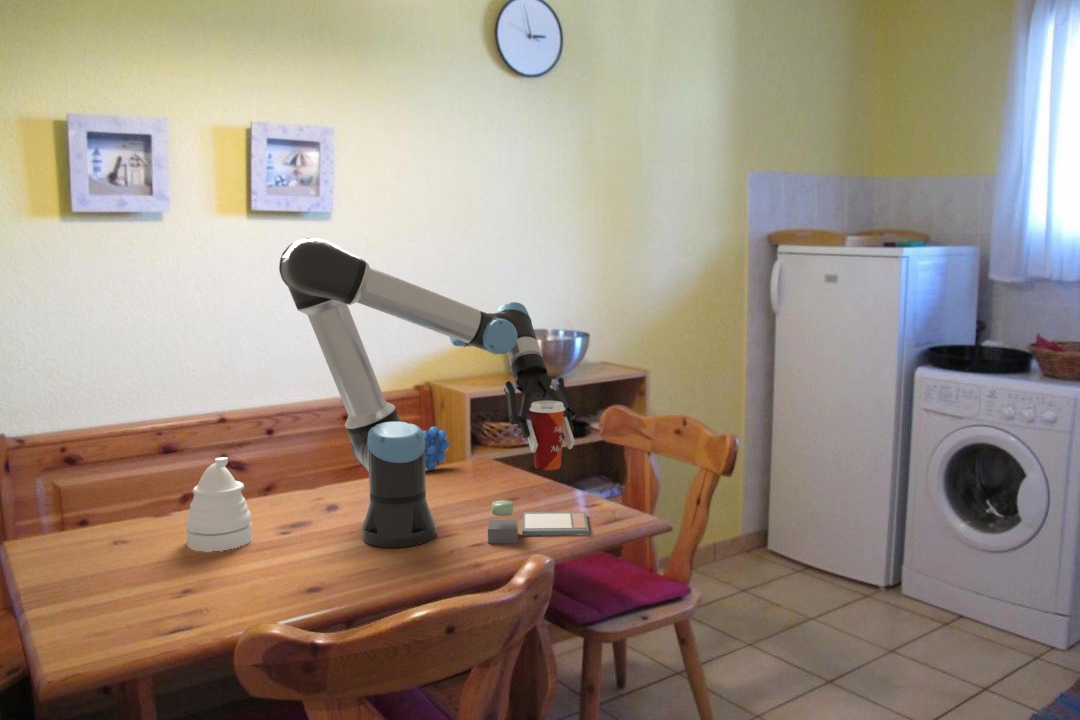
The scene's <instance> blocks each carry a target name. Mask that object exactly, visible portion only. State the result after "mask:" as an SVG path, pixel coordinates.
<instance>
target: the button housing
mask: <svg viewBox="0 0 1080 720" xmlns="http://www.w3.org/2000/svg"><path fill="white" fill-rule="evenodd" d="M518 523H519V521H518V519H489V521H488V525H487V526H488V527H487V542H488V543H487V544H518V536H519V535H518V533H519V531H518V530H519V529H518V528H519V525H518Z"/></svg>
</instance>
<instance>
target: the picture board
mask: <svg viewBox="0 0 1080 720" xmlns="http://www.w3.org/2000/svg"><path fill="white" fill-rule="evenodd" d="M521 531H522V534H521V535H522V537H525V536H527V537H528V536H529V537H530V536H533V537H535V536H537V535H541V536H564V535H563V534H567V535H566V536H575V535H574V534H589V535H590V529H589V523H588V518H587V513H586V511H540V512H539V511H537V512H536V511H533V512H531V511H530V512H529V511H527V512H525V511H524V512H523V513H522V530H521Z"/></svg>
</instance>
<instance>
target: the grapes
mask: <svg viewBox="0 0 1080 720" xmlns="http://www.w3.org/2000/svg"><path fill="white" fill-rule="evenodd" d="M422 431H423V434H424V440H425V469H426V470H427V471H434V470H435V469H436V467H437V466H438V464H437V463H443V462H444V461H445V460H446V455H447V454H446V453H445V452H446V451H448V450H449V448H450V442H449V440H448V439H447V437H448V435H447V431H446V430H444V429H443V430H442V429H441V430H439V429H438V427H437V426H434V425H433V426H431V427H430V428H429V429H428V431H427V430H422Z"/></svg>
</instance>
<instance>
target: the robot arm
mask: <svg viewBox="0 0 1080 720" xmlns="http://www.w3.org/2000/svg"><path fill="white" fill-rule="evenodd" d="M278 266H279V267H278V269H279V275H280V278H281V280H282V281H283V283H284V284H285V285H286V286H287V288H288V290H289V293H290V295H291V297H292V300H293V302H294V304H295V307H296V309H297V311H298V312H301V313H302V314H305V315H307V318H308V320H309V323H310V324H311V328H312V330H313V333H314V334H315V337H316V339H317V342H318V344H319V347H320V349H321V351H322V353H323V356H324V359H325V362H326V363H327V366H328V369H329V371H330V373H331V376H332V378H333V382H334V384H335V386H336V389H337V390H338V393H339V396H340V398H341V401H342V403H343V406H344V409H345V410H346V413H347V415H348V416H347V419H346V422H345V423H344V427H345V429H346V431H347V434H348V436H349V440H350V442H351V443H350V444H351V445H350V446H351V450H352V452H353V455H354V456H355V458H356V460H357V461H358V462H359V463H360V465H362V466H363V467H364V468H365V469H366V470H367V472H368V478H369V479H368V481H369V482H368V484H369V487H368V488H369V504H368V508H367V510H366V511H367V512H366V513H365V514H366V515H365V518H364V522H363V525H362V540H363V541H364V543H366V544H368V545H370V546H375V547H378V548H379V547H380V548H390V549H391V548H392V549H393V548H408V547H413V546H417V545H421V544H424V543H427V542H429V541H431V540H432V539H434V538H435V537H436V524H435V520H434V518H433V515H432V512H431V509H430V507H429V503H428V501H427V492H426V489H427V488H426V487H427V486H426V468H425V440H424V434H423V431H424V430H422V428H420V426H418V425H416V424H413V423H408V422H405V421H401V419H400V416H399V413H398V410H397V409H396V406H395V404H392V403H390V402H388V401H386V399H385V396H384V394H383V392H382V389H381V387H380V383H379V382H378V379H377V376H376V374H375V372H374V369H373V366H372V363H371V361H370V359H369V356H368V354H367V351H366V348H365V346H364V344H363V340H362V338H361V336H360V333H359V331H358V328H357V325H356V323H355V321H354V318H353V316H352V313H351V310H350V308H349V306H350V305H351V306H352V305H354V304H356V303H357V304H360V305H362V306H365V307H368V308H371V309H373V310H377V311H379V312H382V313H385V314H387V315H390V316H393V317H396V318H398V319H401V320H403V321H406V322H408V323H412V324H414V325H416V326H418V327H422V328H424V329H427V330H431V331H433V332H436V333H438V334H441V335H444V336H447V337H449V340H450V343H451V344H452V345H453V347H454V346H455V347H463V348H466V347H475V348H476V349H477V348H478V349H481V350H482V351H486V352H488V353H491V354H493V355H505V354H507V357H508V361H509V364H510V366H511V367H510V368H511V371H512V375H513V378H514V381H513V382H511V381H509V380H507V381H506V382H505V385H504V388H503V392H504V393H505V394H506V399H507V406H508V417H509V424H510V425H514V426H515V425H517V428H518V429H520V432H521V434H522V437H523V438H524V439H527V441H528V445H529V448H530V452H531V454H534V452H535V451H536V449H537V447H538V443H537V440H536V437H535V433H534V430H533V427H532V419H527V417H528V411H529V405H530V400H531V399H535V398H539V399H542V401H559V402H562V403H563V405H564V408H565V410H564V418H563V437H564V440H565V444H566V446H567V449H569V450H571V449H573V447H574V445H575V442H576V440H575V438H574V435H573V433H574V431H575V427H574V423H573V421H574V419H575V418H576V416H577V414H578V410H577V407H576V405H575V404H574V402H573V400H572V398H571V396H570V394H569V392H568V390H567V388H566V387H565V380H564V378H563V377H559V378H558V379H552V378H551V376H550V375H549V374H548V370H547V366H546V363H545V360H544V357H543V353H542V351H541V348H540V345H539V342H538V340H537V335H536V333H535V330H534V326H533V323H532V318H531V317H530V314H529V312H528V310H527V308H526V307H525V305H524V304H523V303H520V302H517V301H511V302H509V303H508V304H507V303H505V304H502V305H501V306H499V308H497V310H496V312H494V313H490V312H484V311H481V310H479V309H477V308H476V307H475V308H474V307H472V306H470V305H467V304H464V303H461V302H459V301H457V300H455V299H451V298H449V297H446V296H444V295H441V294H439V293H437V292H434V291H432V290H429V289H426V288H425V287H422V286H421V287H420V286H419V285H416V284H413V283H410V281H406V280H404V279H402V278H401V279H400V278H398V277H395V276H393V275H390V274H388V273H385V272H384V271H380V270H377V269H375V268H374V267H371V266H370V265H369V262H368V261H367V260H366V259H364V258H361V257H359V256H357V255H354V254H352V253H351V252H348V251H346V250H344V249H342V248H341V247H339V246H338V245H336V244H334V243H332V242H330V241H328V240H325V239H321V238H313V237H304V238H301V239H297V240H296V241H293V242H292V243H290V244H289V245H288V246H286V248H285V249H284V250H283V252H282V254H281V256H280V259H279V265H278ZM551 386H552V387H553V389H552V388H551ZM516 390H518V391H519V392H520V393H522V394H523V395H522V402H521V407H520V412H519V415H518V408H517V405H518V404H517V400H516V399H517V397H516ZM554 391H556V392H555V393H556V394H557V395H556V394H555V393H554ZM557 396H558V397H557ZM572 420H573V421H572Z"/></svg>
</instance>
